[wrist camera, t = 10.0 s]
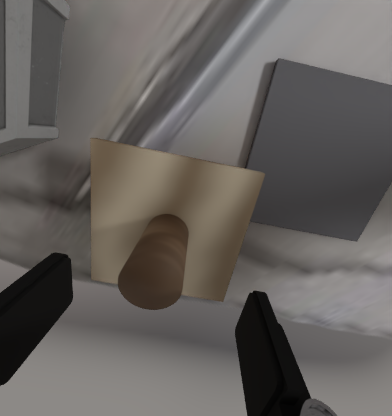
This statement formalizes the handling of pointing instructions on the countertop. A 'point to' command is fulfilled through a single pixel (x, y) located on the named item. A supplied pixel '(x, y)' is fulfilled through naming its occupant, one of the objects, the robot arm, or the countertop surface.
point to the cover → (166, 222)
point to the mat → (322, 150)
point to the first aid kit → (30, 71)
